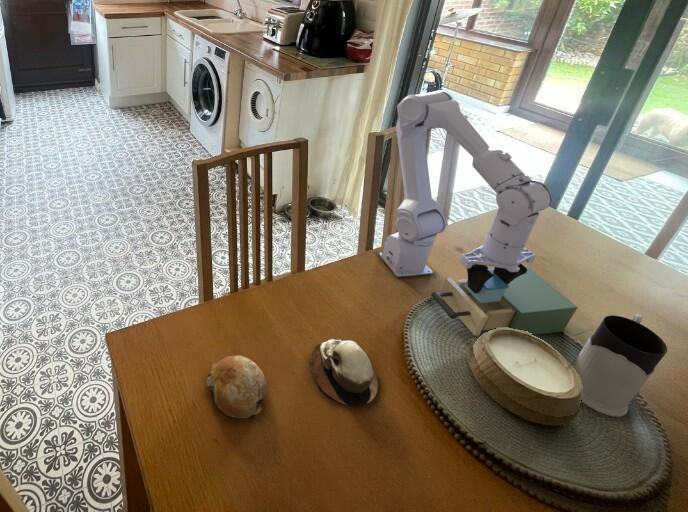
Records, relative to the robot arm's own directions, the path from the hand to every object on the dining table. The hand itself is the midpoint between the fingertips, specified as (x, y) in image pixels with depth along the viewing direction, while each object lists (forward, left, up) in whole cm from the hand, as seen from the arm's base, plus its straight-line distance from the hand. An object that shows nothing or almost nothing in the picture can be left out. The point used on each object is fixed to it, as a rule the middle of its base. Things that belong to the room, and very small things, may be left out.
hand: (483, 288), depth 85 cm
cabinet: (+10, 0, -8) cm, 13 cm away
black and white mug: (+12, -16, -8) cm, 22 cm away
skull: (-34, -9, -8) cm, 36 cm away
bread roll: (-55, -10, -8) cm, 57 cm away
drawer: (-1, 0, -7) cm, 7 cm away
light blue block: (0, 0, -1) cm, 1 cm away
